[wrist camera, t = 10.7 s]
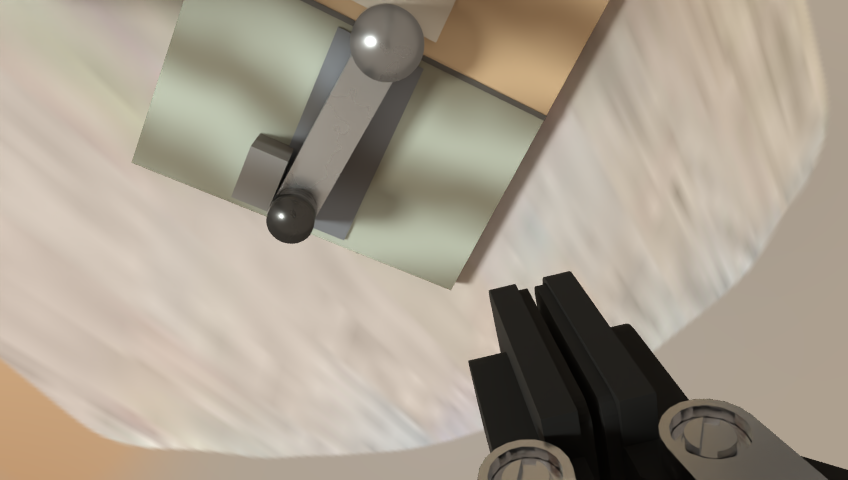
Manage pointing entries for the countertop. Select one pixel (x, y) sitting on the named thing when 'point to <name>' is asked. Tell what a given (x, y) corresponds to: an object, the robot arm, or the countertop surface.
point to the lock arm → (346, 115)
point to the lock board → (388, 129)
